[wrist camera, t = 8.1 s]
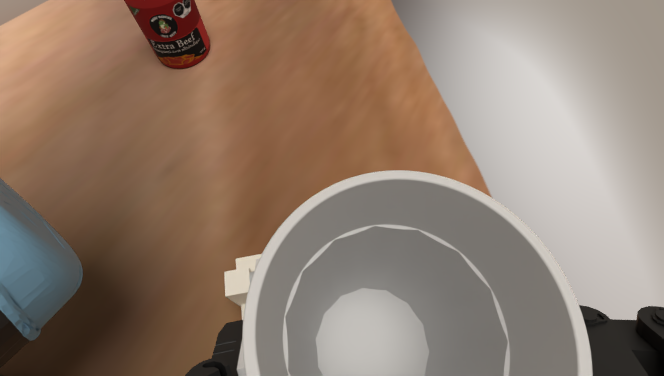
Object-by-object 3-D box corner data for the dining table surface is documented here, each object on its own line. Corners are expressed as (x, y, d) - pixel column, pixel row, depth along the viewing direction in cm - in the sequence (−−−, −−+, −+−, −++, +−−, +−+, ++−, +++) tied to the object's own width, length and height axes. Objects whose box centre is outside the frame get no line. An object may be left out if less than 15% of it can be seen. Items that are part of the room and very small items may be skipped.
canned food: (157, 74, 48) (111, -2, 38) (158, 36, 52) (116, -41, 42) (213, 65, 48) (181, -12, 39) (210, 28, 52) (180, -50, 43)
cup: (372, 247, 21) (407, 124, 11) (475, 357, 18) (663, 336, 8) (266, 337, 19) (178, 295, 8) (365, 480, 16) (421, 690, 5)
